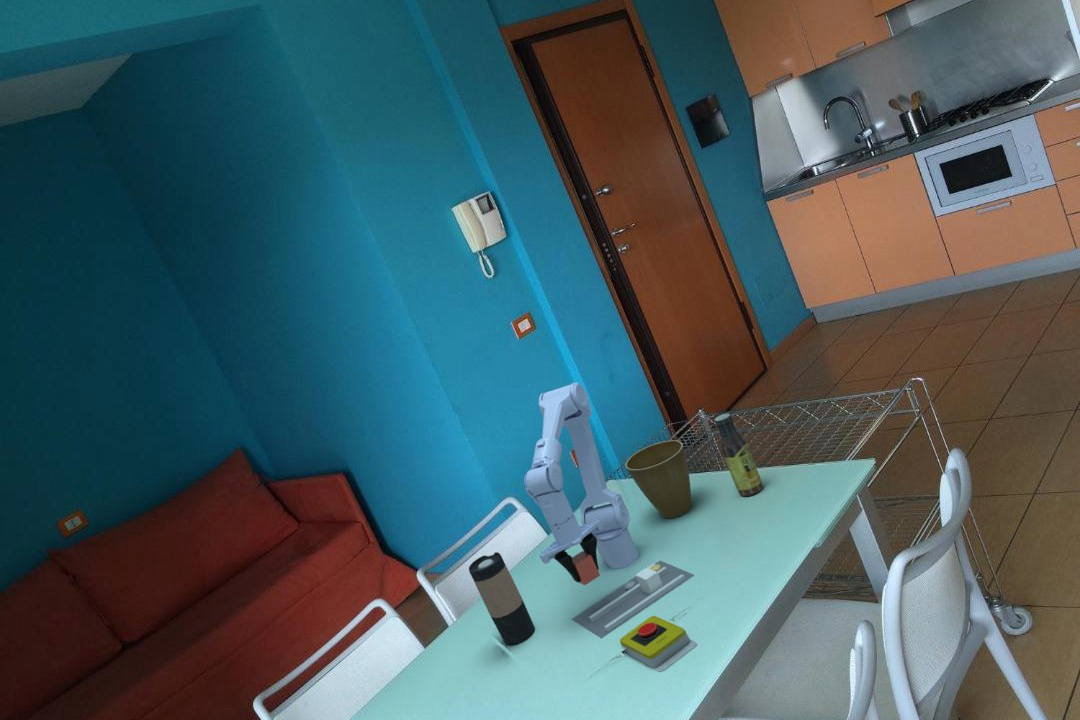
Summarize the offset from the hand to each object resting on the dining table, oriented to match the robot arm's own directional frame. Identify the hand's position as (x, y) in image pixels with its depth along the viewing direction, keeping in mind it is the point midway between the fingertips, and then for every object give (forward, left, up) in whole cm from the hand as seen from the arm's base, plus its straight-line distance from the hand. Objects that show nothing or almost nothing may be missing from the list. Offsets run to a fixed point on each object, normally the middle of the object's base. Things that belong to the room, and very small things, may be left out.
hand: (586, 575), depth 192 cm
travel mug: (-10, -16, -10) cm, 21 cm away
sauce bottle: (-10, +50, -10) cm, 52 cm away
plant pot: (-23, +36, -10) cm, 44 cm away
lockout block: (0, 0, -1) cm, 1 cm away
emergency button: (+23, 0, -10) cm, 25 cm away
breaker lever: (+7, +10, -8) cm, 14 cm away
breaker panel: (+4, +6, -9) cm, 12 cm away
